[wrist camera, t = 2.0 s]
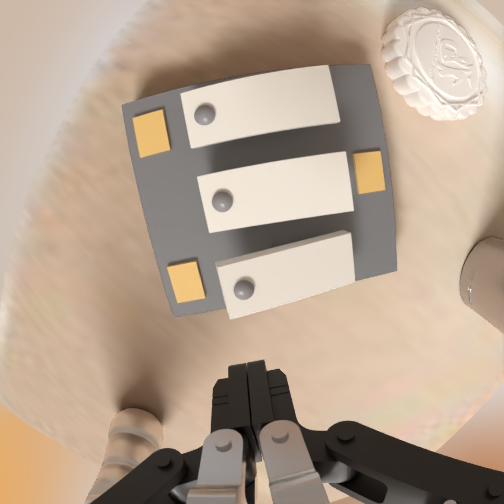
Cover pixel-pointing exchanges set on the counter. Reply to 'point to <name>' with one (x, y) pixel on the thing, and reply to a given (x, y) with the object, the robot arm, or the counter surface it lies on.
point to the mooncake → (434, 64)
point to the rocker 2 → (286, 273)
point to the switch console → (251, 153)
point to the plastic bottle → (127, 447)
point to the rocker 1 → (260, 105)
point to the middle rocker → (276, 191)
